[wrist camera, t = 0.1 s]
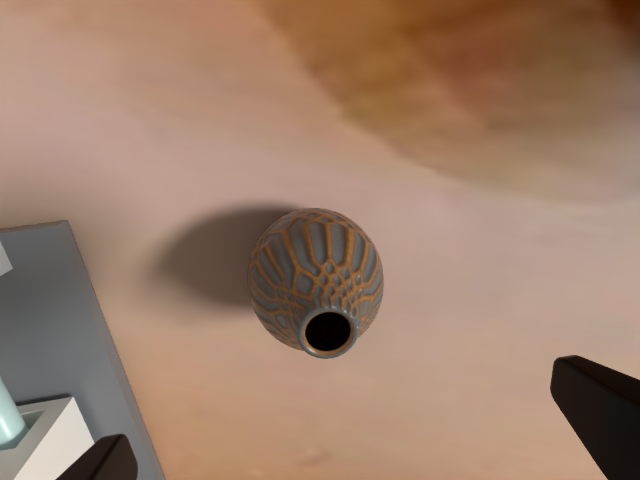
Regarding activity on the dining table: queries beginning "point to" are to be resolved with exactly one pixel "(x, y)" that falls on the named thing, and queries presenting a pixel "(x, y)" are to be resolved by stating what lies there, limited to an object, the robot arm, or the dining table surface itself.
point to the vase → (315, 281)
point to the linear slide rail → (60, 342)
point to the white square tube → (47, 441)
